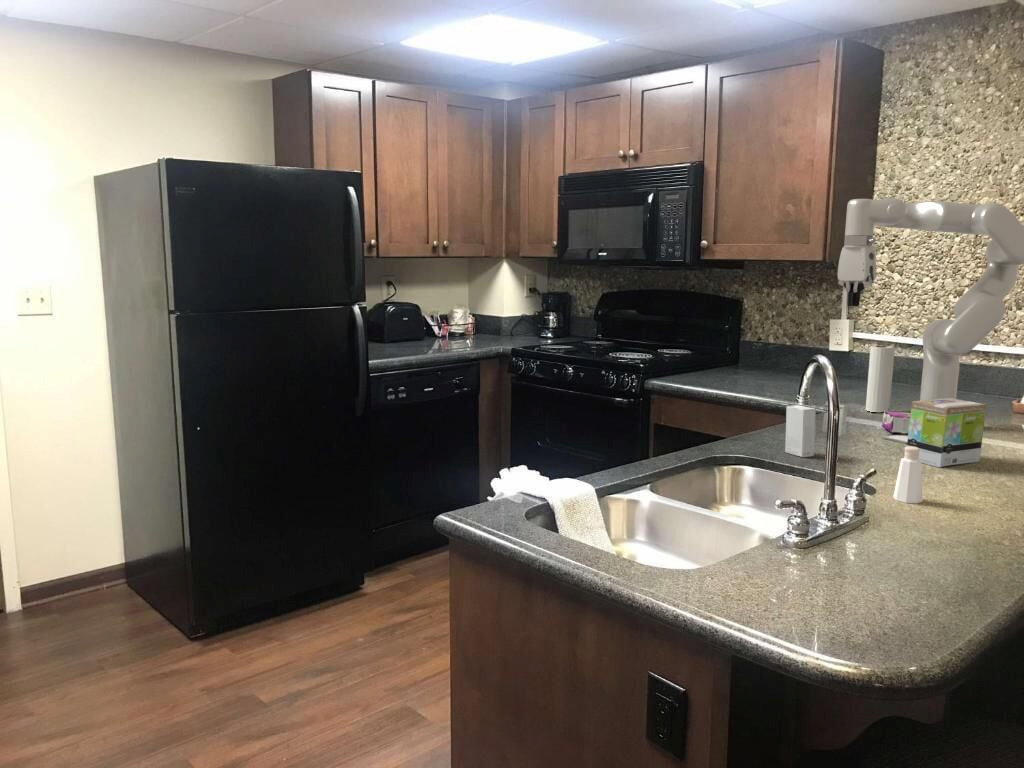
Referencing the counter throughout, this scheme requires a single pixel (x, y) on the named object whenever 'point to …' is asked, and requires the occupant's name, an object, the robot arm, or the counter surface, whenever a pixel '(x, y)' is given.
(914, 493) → the pepper shaker
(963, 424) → the tea box
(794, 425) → the skincare box
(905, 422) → the candy bar box
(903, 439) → the mat
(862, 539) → the counter surface
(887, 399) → the paper towel roll
